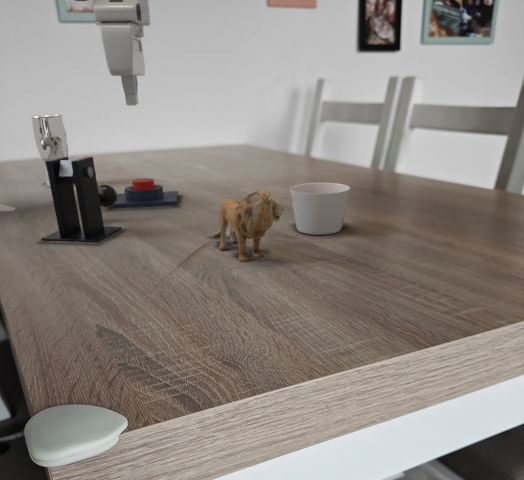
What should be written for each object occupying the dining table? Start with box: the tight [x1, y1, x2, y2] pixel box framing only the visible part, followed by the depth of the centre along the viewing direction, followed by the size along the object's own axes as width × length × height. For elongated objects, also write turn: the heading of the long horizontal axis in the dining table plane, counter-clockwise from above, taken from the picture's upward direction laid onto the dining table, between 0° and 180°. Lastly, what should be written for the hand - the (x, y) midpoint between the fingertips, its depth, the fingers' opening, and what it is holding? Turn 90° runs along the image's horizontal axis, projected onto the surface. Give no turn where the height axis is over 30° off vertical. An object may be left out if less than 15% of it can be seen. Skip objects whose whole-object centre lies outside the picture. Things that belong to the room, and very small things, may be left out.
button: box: [131, 177, 155, 190], centre depth 103 cm, size 4×4×2 cm
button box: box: [108, 183, 180, 210], centre depth 104 cm, size 12×10×4 cm
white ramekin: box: [289, 182, 351, 236], centre depth 84 cm, size 9×9×6 cm
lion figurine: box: [213, 189, 285, 262], centre depth 74 cm, size 15×5×9 cm, turn 35°
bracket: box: [41, 156, 123, 244], centre depth 81 cm, size 8×9×12 cm
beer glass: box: [31, 114, 69, 188], centre depth 126 cm, size 7×7×15 cm
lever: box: [59, 159, 118, 209], centre depth 85 cm, size 13×4×4 cm, turn 167°
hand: (132, 105), depth 97 cm, fingers closed
